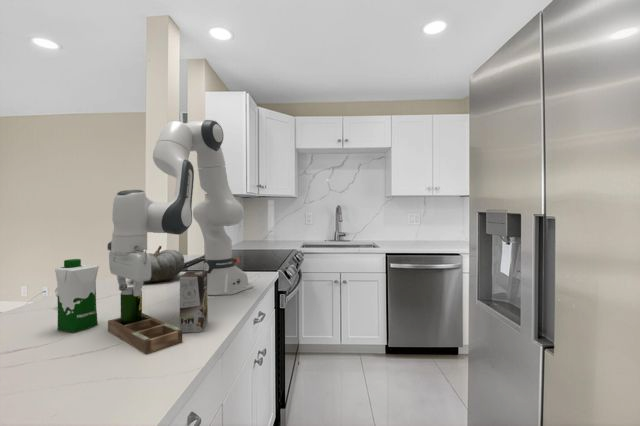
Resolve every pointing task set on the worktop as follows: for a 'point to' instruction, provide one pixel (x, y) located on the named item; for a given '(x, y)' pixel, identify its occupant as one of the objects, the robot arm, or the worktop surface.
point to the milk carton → (76, 296)
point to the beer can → (130, 307)
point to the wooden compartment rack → (146, 333)
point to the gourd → (165, 265)
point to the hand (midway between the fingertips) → (129, 293)
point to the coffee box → (193, 301)
